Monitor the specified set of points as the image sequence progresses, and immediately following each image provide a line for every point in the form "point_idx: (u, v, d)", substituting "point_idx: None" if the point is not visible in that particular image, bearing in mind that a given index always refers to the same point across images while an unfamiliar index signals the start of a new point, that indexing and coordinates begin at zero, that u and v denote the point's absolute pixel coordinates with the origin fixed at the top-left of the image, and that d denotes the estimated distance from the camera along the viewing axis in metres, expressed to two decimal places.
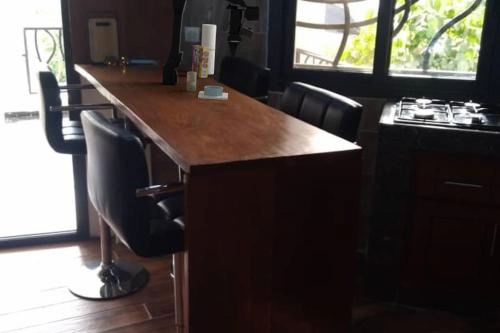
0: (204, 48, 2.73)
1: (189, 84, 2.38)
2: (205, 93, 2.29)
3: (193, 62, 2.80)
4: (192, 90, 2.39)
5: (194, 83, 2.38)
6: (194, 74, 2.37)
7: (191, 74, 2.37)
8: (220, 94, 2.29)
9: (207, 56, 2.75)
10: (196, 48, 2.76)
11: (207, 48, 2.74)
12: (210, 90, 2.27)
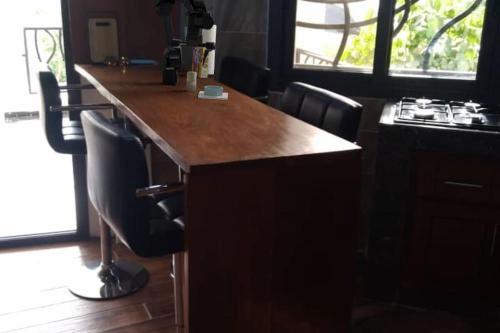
0: (204, 48, 2.73)
1: (189, 84, 2.38)
2: (205, 93, 2.29)
3: (193, 62, 2.80)
4: (192, 90, 2.39)
5: (194, 83, 2.38)
6: (194, 74, 2.37)
7: (191, 74, 2.37)
8: (220, 94, 2.29)
9: (207, 56, 2.75)
10: (196, 48, 2.76)
11: None
12: (210, 90, 2.27)
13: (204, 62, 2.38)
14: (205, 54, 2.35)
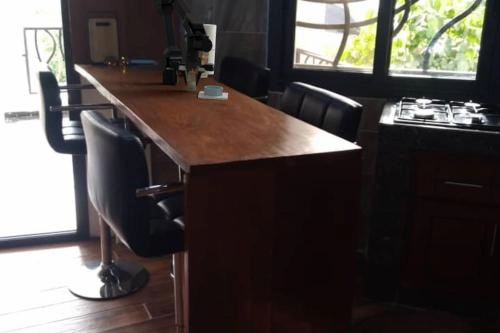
0: None
1: (189, 84, 2.38)
2: (205, 93, 2.29)
3: None
4: (192, 90, 2.39)
5: (194, 83, 2.38)
6: (194, 74, 2.37)
7: (191, 74, 2.37)
8: (220, 94, 2.29)
9: (207, 56, 2.75)
10: None
11: None
12: (210, 90, 2.27)
13: (197, 83, 2.41)
14: (198, 75, 2.37)
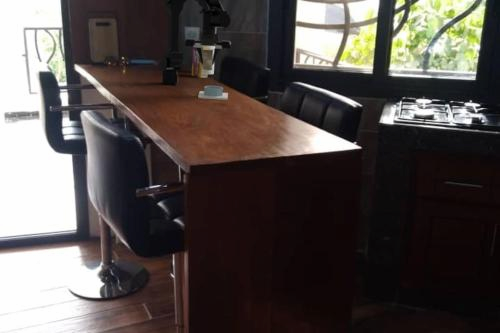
0: (204, 48, 2.73)
1: (205, 62, 2.29)
2: (205, 93, 2.29)
3: (193, 62, 2.80)
4: (208, 69, 2.29)
5: (210, 61, 2.29)
6: (210, 52, 2.28)
7: (207, 52, 2.27)
8: (220, 94, 2.29)
9: None
10: None
11: (207, 48, 2.74)
12: (210, 90, 2.27)
13: None
14: (215, 53, 2.28)
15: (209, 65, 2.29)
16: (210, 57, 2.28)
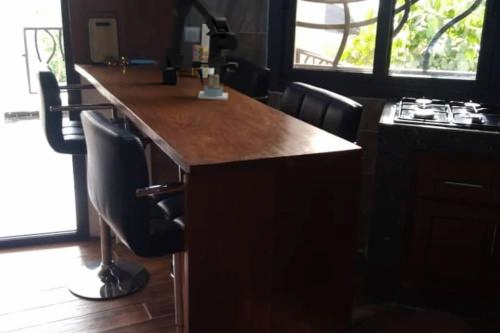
0: (204, 48, 2.73)
1: (211, 88, 2.29)
2: (205, 93, 2.29)
3: None
4: None
5: (216, 86, 2.29)
6: (217, 77, 2.28)
7: (214, 77, 2.27)
8: (220, 94, 2.29)
9: (207, 56, 2.75)
10: (196, 48, 2.76)
11: (207, 48, 2.74)
12: (210, 90, 2.27)
13: None
14: (227, 75, 2.28)
15: None
16: (216, 82, 2.28)
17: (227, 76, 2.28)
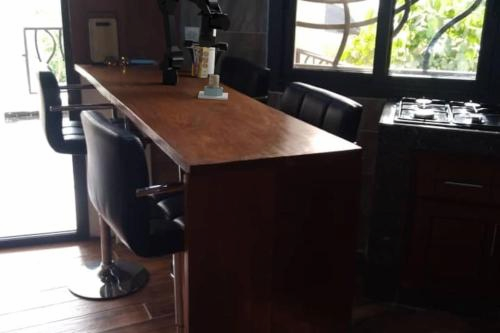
0: (204, 48, 2.73)
1: (211, 88, 2.29)
2: (205, 93, 2.29)
3: None
4: None
5: (216, 87, 2.29)
6: (217, 77, 2.28)
7: (214, 77, 2.27)
8: (220, 94, 2.29)
9: (207, 56, 2.75)
10: (196, 48, 2.76)
11: (207, 48, 2.74)
12: (210, 90, 2.27)
13: (216, 63, 2.38)
14: (218, 55, 2.35)
15: None
16: (216, 82, 2.28)
17: (217, 55, 2.35)
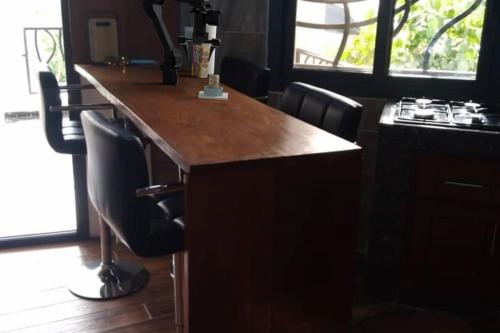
0: (204, 48, 2.73)
1: (211, 88, 2.29)
2: (205, 93, 2.29)
3: (193, 62, 2.80)
4: None
5: (216, 87, 2.29)
6: (217, 77, 2.28)
7: (214, 77, 2.27)
8: (220, 94, 2.29)
9: (207, 56, 2.75)
10: (196, 48, 2.76)
11: (207, 48, 2.74)
12: (210, 90, 2.27)
13: None
14: (211, 50, 2.42)
15: None
16: (216, 82, 2.28)
17: (211, 51, 2.42)
